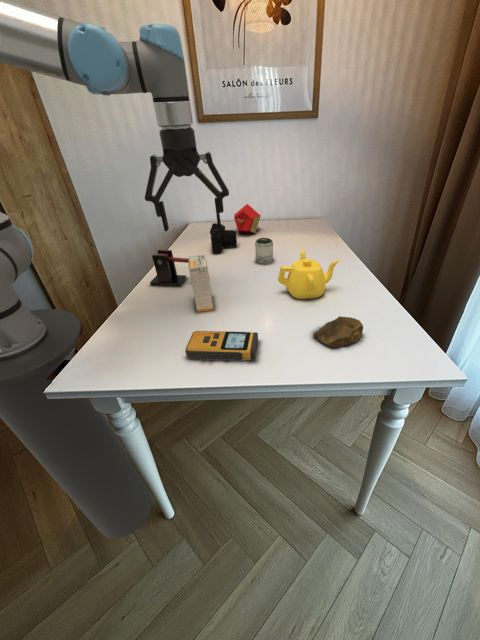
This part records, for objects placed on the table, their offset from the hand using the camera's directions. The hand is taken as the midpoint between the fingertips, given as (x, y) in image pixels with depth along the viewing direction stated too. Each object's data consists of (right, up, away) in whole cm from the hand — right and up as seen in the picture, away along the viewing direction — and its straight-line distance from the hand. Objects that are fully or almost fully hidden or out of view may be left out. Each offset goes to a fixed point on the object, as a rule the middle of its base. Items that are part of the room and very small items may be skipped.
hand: (193, 227), depth 81 cm
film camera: (+3, +9, +44) cm, 45 cm away
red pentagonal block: (+12, +21, +58) cm, 63 cm away
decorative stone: (+36, -29, -5) cm, 46 cm away
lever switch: (-7, -5, +16) cm, 18 cm away
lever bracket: (-13, -10, +21) cm, 26 cm away
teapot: (+32, -14, +13) cm, 37 cm away
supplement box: (+1, -19, +9) cm, 21 cm away
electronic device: (+9, -32, -8) cm, 34 cm away
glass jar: (+19, 0, +32) cm, 37 cm away
